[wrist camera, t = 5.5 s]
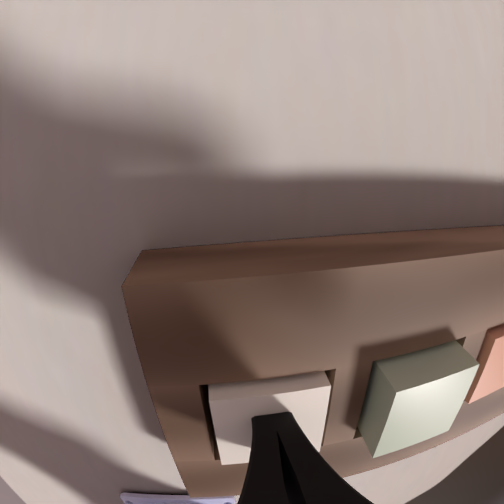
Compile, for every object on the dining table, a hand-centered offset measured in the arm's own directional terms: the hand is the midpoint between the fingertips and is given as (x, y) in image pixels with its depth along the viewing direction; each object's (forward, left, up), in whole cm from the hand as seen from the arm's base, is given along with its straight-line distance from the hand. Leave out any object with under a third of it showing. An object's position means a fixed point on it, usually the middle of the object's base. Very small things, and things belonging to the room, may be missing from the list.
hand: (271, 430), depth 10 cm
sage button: (0, -6, -2) cm, 6 cm away
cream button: (0, 0, -3) cm, 3 cm away
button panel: (0, -6, -3) cm, 7 cm away
